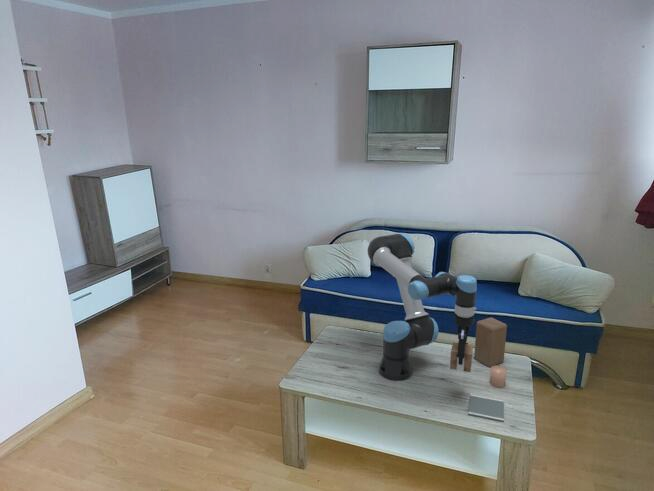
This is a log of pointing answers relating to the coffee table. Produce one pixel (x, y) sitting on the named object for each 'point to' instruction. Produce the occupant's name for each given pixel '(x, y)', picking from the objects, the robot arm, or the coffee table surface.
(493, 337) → the wooden block
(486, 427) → the coffee table surface
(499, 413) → the mat
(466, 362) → the cube
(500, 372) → the pink cylinder
